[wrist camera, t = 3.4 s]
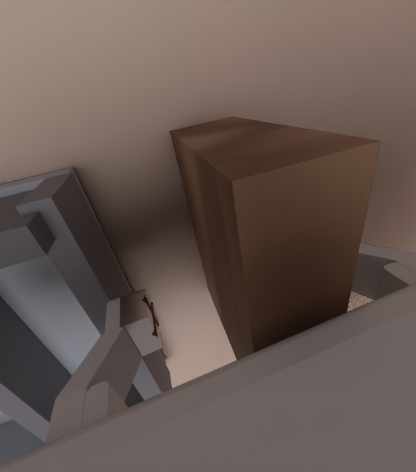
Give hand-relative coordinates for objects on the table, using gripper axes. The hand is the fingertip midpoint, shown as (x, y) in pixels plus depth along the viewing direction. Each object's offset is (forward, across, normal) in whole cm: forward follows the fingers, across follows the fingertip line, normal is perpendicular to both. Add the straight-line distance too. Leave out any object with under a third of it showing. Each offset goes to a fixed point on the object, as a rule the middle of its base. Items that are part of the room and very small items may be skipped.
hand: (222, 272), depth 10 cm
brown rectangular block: (+4, -1, 0) cm, 4 cm away
